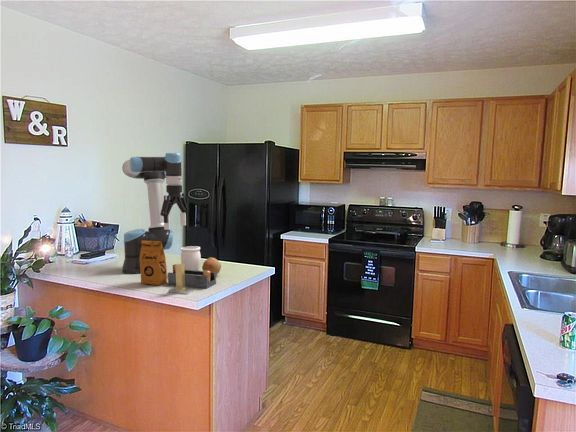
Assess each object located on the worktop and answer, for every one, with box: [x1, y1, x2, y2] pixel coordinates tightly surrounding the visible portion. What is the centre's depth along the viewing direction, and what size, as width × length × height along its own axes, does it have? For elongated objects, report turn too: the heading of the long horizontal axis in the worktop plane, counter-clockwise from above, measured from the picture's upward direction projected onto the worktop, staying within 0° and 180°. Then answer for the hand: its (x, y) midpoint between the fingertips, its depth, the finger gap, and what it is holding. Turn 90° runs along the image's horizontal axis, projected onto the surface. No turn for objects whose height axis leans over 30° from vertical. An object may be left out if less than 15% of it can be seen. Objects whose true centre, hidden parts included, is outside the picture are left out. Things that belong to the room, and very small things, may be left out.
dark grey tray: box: [167, 263, 217, 290], centre depth 212 cm, size 22×9×9 cm, turn 71°
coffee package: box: [139, 241, 168, 286], centre depth 214 cm, size 10×12×22 cm
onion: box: [201, 257, 222, 276], centre depth 229 cm, size 10×10×10 cm
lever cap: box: [168, 263, 194, 295], centre depth 199 cm, size 10×5×13 cm, turn 71°
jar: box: [180, 245, 202, 271], centre depth 232 cm, size 11×10×15 cm
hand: (175, 227), depth 211 cm, fingers open, 13 cm apart
